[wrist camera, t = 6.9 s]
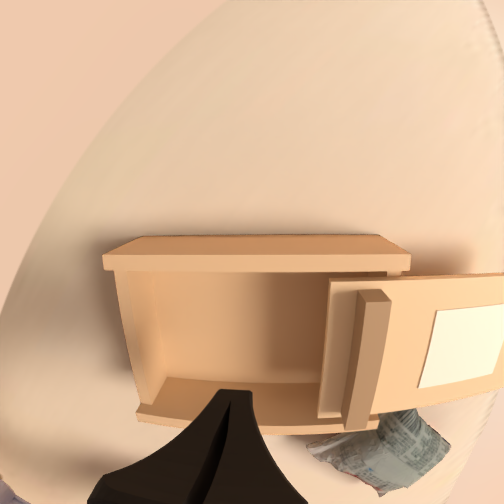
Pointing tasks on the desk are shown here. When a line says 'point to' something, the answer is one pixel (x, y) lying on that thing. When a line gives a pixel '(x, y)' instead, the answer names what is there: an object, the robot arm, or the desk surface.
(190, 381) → the light brown rectangular box
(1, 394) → the desk surface
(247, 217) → the desk surface
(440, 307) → the lid
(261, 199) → the desk surface
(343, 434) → the packaged food
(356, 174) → the desk surface
